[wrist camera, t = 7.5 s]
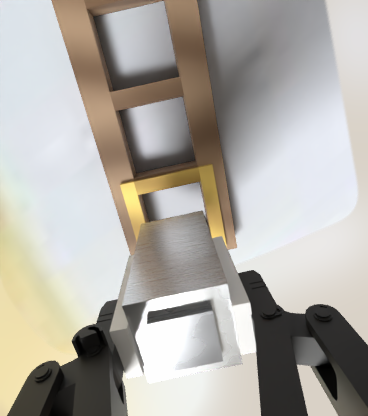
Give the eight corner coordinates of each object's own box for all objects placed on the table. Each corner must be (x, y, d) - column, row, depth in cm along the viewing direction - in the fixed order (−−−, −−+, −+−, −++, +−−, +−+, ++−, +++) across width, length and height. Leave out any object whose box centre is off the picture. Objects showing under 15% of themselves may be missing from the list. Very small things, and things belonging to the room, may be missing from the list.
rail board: (57, -3, 21) (45, -16, 19) (187, -33, 21) (189, -50, 19) (137, 258, 29) (134, 271, 27) (232, 238, 29) (238, 249, 27)
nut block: (140, 223, 20) (120, 312, 11) (202, 210, 20) (229, 289, 11) (155, 276, 22) (148, 391, 13) (213, 264, 22) (244, 371, 13)
